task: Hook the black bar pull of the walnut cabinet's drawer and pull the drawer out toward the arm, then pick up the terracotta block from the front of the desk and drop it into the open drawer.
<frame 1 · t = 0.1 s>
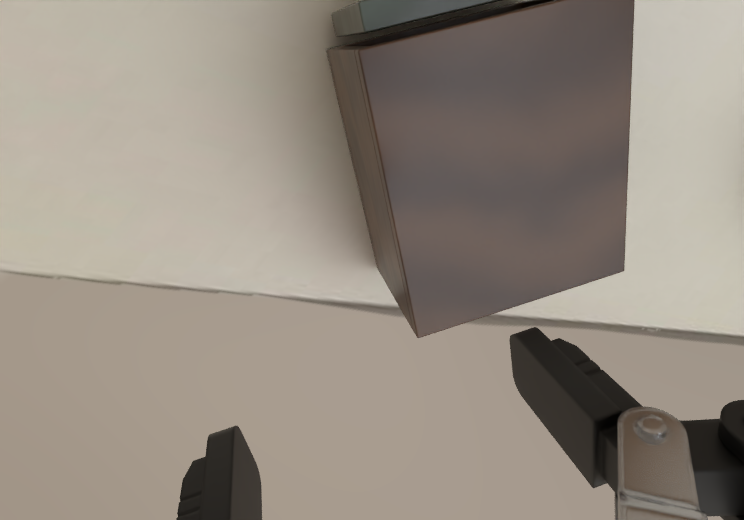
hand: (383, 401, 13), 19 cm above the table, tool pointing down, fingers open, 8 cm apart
drawer: (465, 74, 25), point 5 cm above the table, slide at 0.5 cm
cabinet: (445, 145, 31), on the table
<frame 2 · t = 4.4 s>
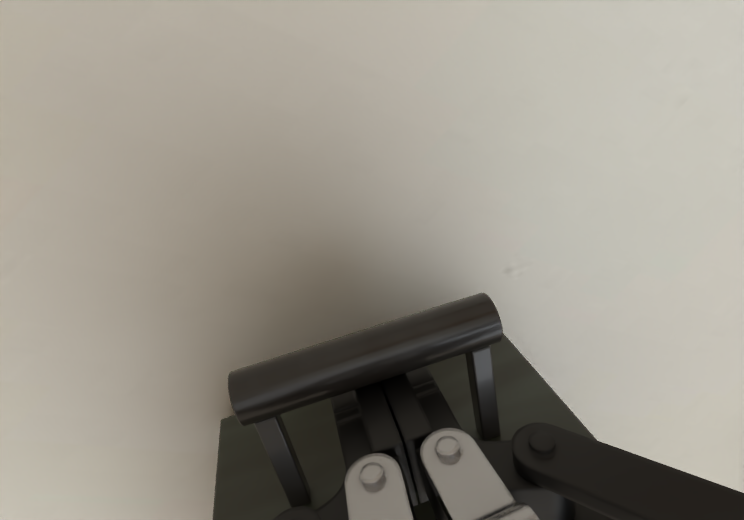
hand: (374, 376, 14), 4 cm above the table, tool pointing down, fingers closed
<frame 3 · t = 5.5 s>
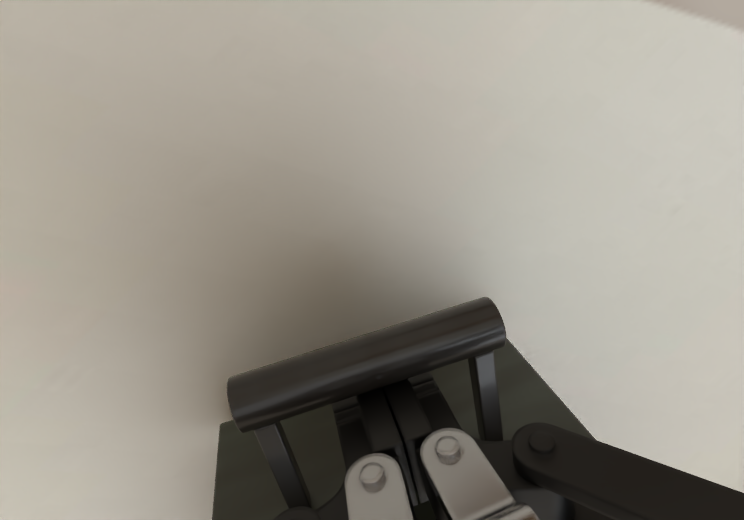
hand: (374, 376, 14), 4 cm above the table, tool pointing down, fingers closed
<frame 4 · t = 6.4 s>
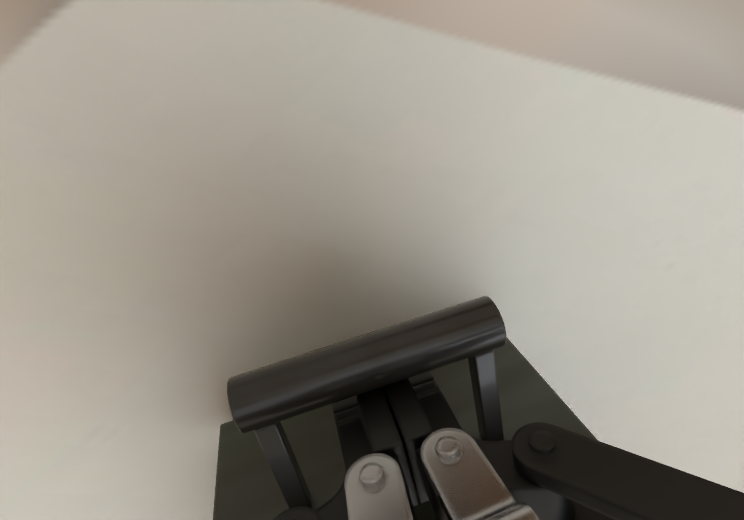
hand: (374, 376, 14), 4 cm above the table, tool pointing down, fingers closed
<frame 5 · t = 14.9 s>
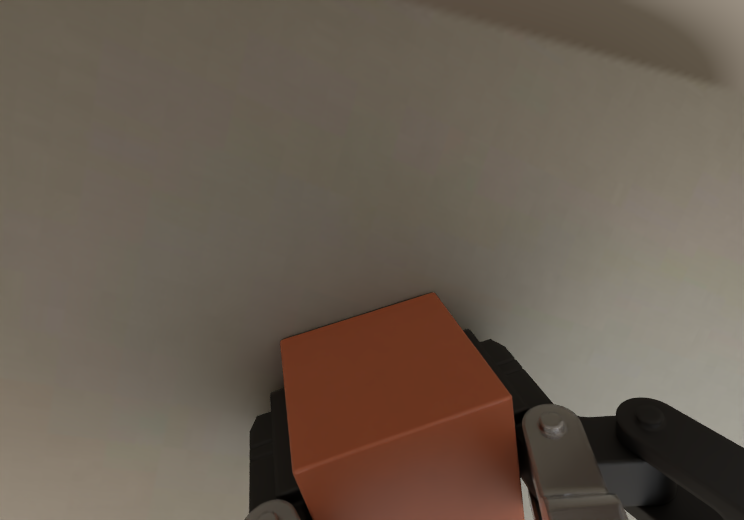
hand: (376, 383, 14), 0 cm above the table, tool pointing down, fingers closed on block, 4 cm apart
block: (375, 376, 14), on the table, touching gripper
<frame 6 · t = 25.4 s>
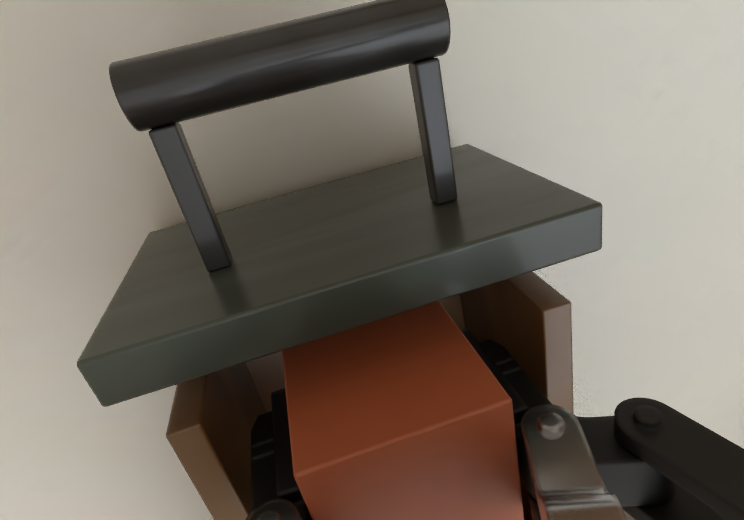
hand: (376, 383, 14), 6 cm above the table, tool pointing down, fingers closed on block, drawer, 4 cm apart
block: (375, 378, 14), point 5 cm above the table, touching gripper
drawer: (364, 343, 15), point 5 cm above the table, slide at 8.4 cm, touching gripper
when the fingers open (7 cm above the table, at t = 26.2 s): block stays where it is, resting on drawer.
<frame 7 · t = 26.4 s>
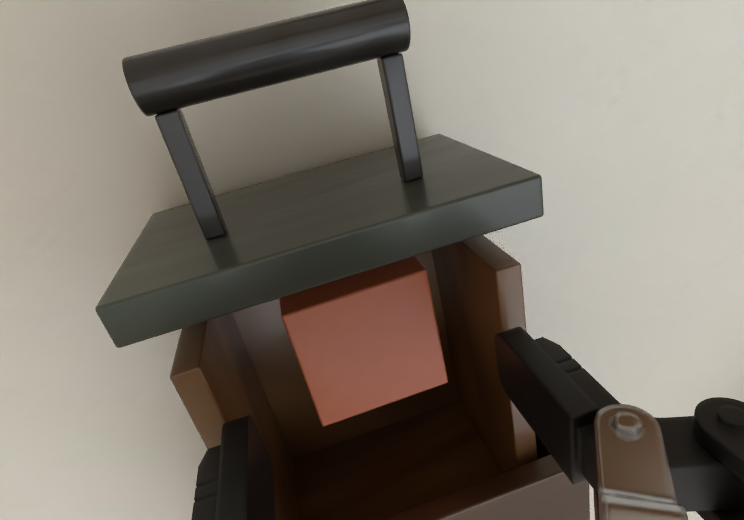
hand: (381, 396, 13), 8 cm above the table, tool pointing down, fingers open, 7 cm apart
block: (345, 288, 19), point 2 cm above the table, touching drawer
drawer: (345, 310, 17), point 5 cm above the table, slide at 8.9 cm, touching block
cabinet: (386, 463, 26), on the table
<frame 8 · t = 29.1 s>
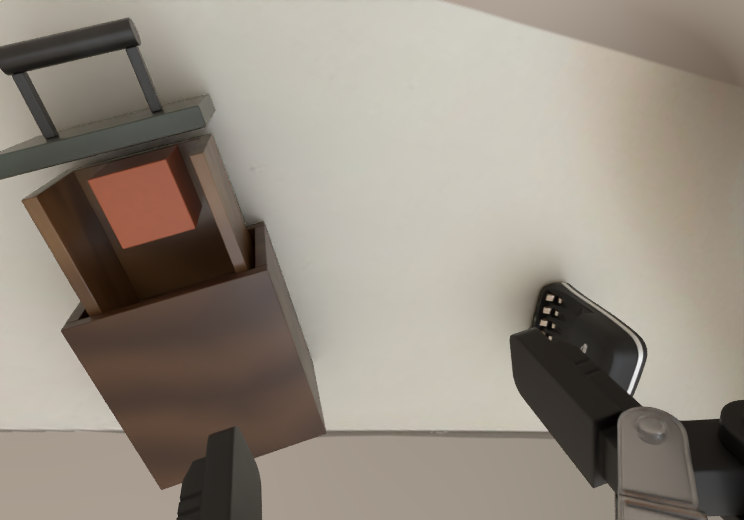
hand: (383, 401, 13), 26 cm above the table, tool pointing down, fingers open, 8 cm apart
battery charger: (543, 309, 48), on the table
block: (157, 185, 32), point 2 cm above the table, touching drawer
drawer: (141, 189, 30), point 5 cm above the table, slide at 8.9 cm, touching block
cabinet: (218, 319, 40), on the table
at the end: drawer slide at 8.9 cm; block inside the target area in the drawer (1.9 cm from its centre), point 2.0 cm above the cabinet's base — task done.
